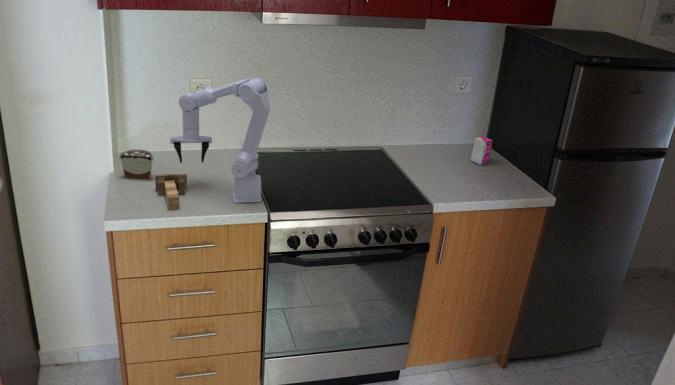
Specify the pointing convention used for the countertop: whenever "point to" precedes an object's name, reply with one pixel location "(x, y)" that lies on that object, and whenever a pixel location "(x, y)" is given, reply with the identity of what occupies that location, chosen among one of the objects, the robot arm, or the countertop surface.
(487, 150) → the supplement box
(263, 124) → the robot arm
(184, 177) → the brown wooden stool
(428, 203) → the countertop surface
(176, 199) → the rail
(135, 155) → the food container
